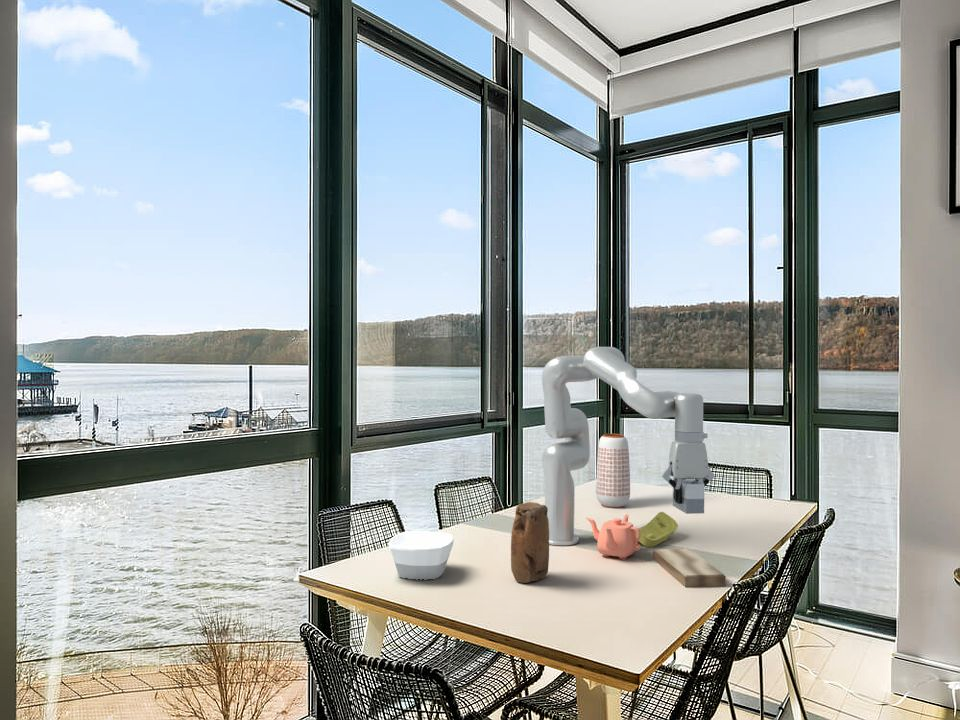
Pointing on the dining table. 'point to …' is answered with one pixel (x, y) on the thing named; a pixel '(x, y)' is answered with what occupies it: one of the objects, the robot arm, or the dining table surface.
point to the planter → (613, 471)
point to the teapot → (616, 538)
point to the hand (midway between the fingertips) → (688, 502)
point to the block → (530, 542)
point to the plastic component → (657, 530)
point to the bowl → (421, 554)
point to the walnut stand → (688, 568)
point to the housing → (691, 497)
